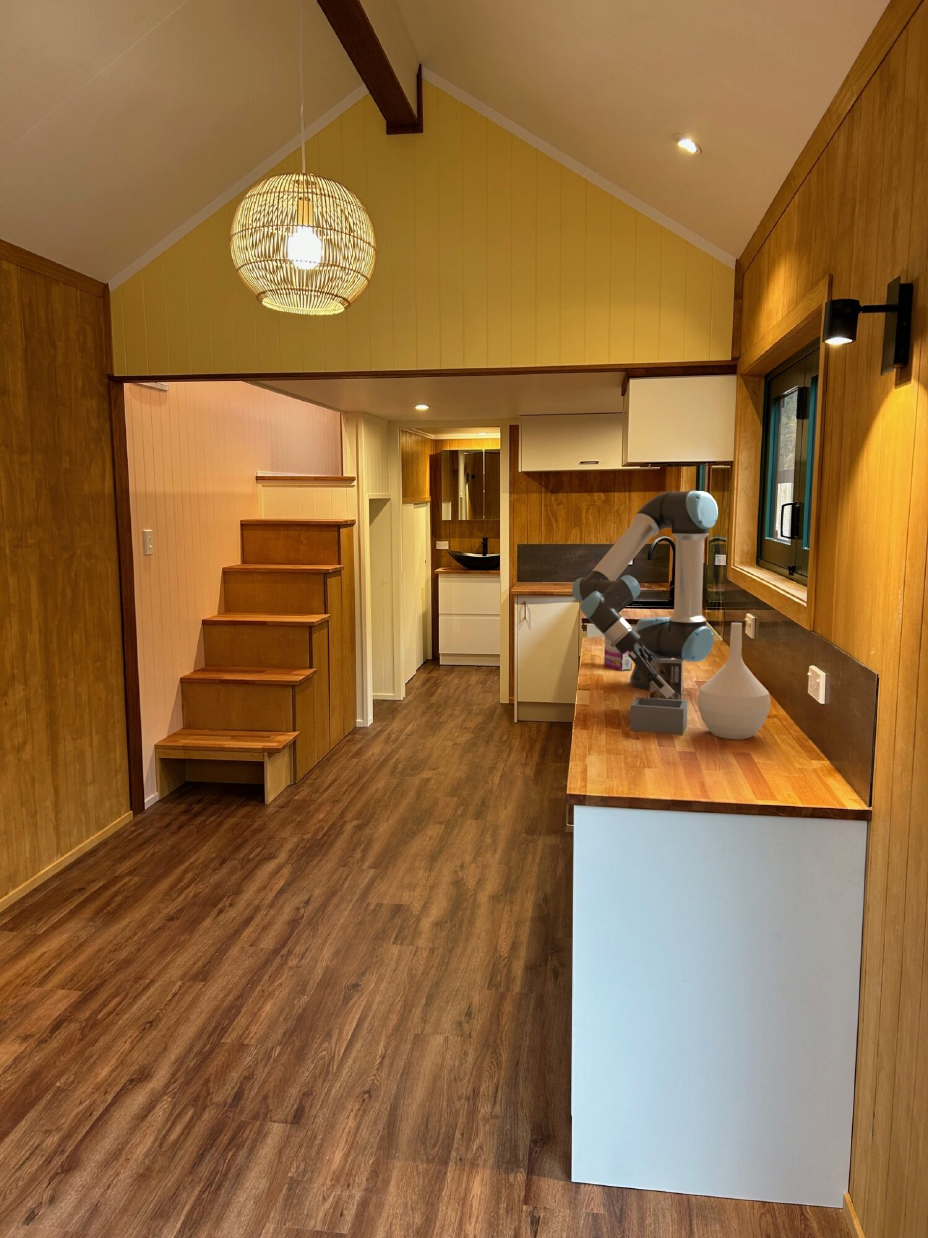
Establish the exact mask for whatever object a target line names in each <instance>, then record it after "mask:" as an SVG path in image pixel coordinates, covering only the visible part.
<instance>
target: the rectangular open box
mask: <svg viewBox="0 0 928 1238" xmlns="http://www.w3.org/2000/svg"><path fill="white" fill-rule="evenodd" d="M629 717H630V718H629V730H630V731H632V732H643V733H653V734H654V733H655V734H664V735H677V736H678V735H679V736H684V733H685V730H686V728H687V726H688V700H686V699H685V700H684V699H683V700H674V699H660V698H650V697H645V696H643V697H642V696H636V697H635V699H633V701H632V702H631V704H630V715H629Z"/></svg>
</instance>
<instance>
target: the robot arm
mask: <svg viewBox="0 0 928 1238" xmlns="http://www.w3.org/2000/svg"><path fill="white" fill-rule="evenodd" d="M718 509H719V508H718V505H717V502H716V500H715V499H714V498H713V496H712V495H711V494H709V492H706V491H701V490H700V491H699V490H691V491H689V490H687V491H686V490H683V491H665V492H662V493H659V494H658V495H656V496H654V497H653V498H651V499H650V500H649V501H647V502H646V503H645V504H644V505H642V507H640V509H639V510H638V511H637V512H636V513H635V515H633V518H632V522H631V524H630V525H629V527H627V528H626V530H625V531H624V533H622V535H621V536H620V537H619V538H618V539H617V541H616V542H615V543H614V544H613V546H612V547H611V548H610V549H609V550H608V552H607V553H606V554H605V555H604V557H602V559H600V561H599V563H597V565H596V566H595V567H594V568H593V569H592V570H591V571H590V573H589V574H588V575H587V576H586V577H579V578H577V579H576V580H575V581H574V582H573V584H572V586H571V593H572V596H573V598H574V599H575V600H576V601H579V602H581V603H580V605H579V609H580V610H581V613H583V615H585V617H586V619H587V620H589V621H590V622H591V623H592V624H593V625H594V627H596V629H597V630H599V632H600V633H601V634H603V636H604V640H605V639H606V640H609V641H610V642H611V643H612V644H613V643H615V644H616V645H615V647H616V649H617V650H618V651H619V652H620V653H621V654H624V653H626V652H627V651H629V654H628V656H629V657H630V658H631V659H632V662H633V664H634V667H633V670H632V673H631V675H630V678H629V679H630V686H632V687H634V688H638V689H644V690H650V682H652V683H653V684H654V685H655V686H656V687H657V688H658V689H659V690H660V691H661V693H662V694H663V695H664V696H665V697H666V698H667V699H668V698H669V697H670V696H671V695H672V694H673V693H675V692H674V691H673V690H672V689H671V687H670V686H669V685H668V684H667V683H666V682H665V681H664V680H663V679H662V678H661V677H660V676H659V675H658V676H657V674H656V672H655V671H654V669H653V668H652V666H651V665H650V662H651V660H652V659H653V658H664V659H683V662H684V661H685V662H688V663H689V662H693V663H698V662H703V661H704V660H705V659H706V658H707V657H708V656H709V654H710V653H711V651H712V649H713V647H714V640H715V637H714V633H713V631H712V629H711V628H709V627H708V626H707V618H706V617H705V616H704V615H703V611H702V610H703V585H704V581H703V580H704V579H703V578H704V548H705V547H704V546H705V545H704V544H705V539H706V538H707V537H708V536H709V535H710V529H711V528H713V527H714V526H715V524H716V522H717V520H718V516H719V511H718ZM665 529H671V535H672V537H673V538H674V539H675V563H674V565H675V566H674V567H675V568H674V569H675V570H674V571H675V572H674V573H675V574H674V575H675V576H674V601H673V602H674V603H673V604H674V608H673V610H674V611H673V614H672V615H671V616H662V617H661V616H660V617H649V618H647V617H646V618H640V619H639V620H638V621H637V622H636V630H635V629H631V626H632V625H631V624H629V622H628V621H627V620H626V619H625V618H624V617H623V616H622V614H620V612H621V611H622V610H624V609H625V608H626V607H628V606H629V605H630V604H631V603H633V602H634V601H635V599H636V598H637V597H638V596H639V595H640V594H641V586H640V584H639V582H638V580H637V579H636V578H635V577H633V576H631V575H628V574H626V575H624V576H621V574H622V573H623V572H624V571H625V569H626V568H627V567H628V566H629V564H630V563H631V562H632V561H633V559H634V558H636V556H637V555H638V553H639V552H640V551H641V550H642V548H644V547H645V545H646V544H647V543H648V541H649V540H650V539H651V538H652V537H656V536H657V535H658V534H659V533H660V532H661V531H663V530H665ZM620 576H621V577H620ZM605 636H606V637H605Z"/></svg>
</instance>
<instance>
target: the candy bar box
mask: <svg viewBox="0 0 928 1238" xmlns="http://www.w3.org/2000/svg"><path fill="white" fill-rule="evenodd" d="M633 628H634V626H632V625H631V629H633ZM633 630H634V629H633ZM605 637H606V636H605V635H604V655H603V656H604V661H603V664H604V665H603V667H605V666H606V668H609V667H610V668H609V669H612V668H614V669H613V670H617V671H620V670H621V672H624V670H626V671H631V670H632V667H633V665H632V664H633V663H632V662H633V661H632V659H631V658H630V657H629V656H628V654H629V651H627V652H626V653H624V654H621V653H620V652H619V651H618V650H617V649H616V647H615V645H616V644H615V643H613V644H612V643H611V642H610V641H609V640H606V639H605ZM632 671H633V670H632Z"/></svg>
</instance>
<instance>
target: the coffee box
mask: <svg viewBox="0 0 928 1238" xmlns="http://www.w3.org/2000/svg"><path fill="white" fill-rule="evenodd" d="M650 665H651V666H652V668H653V669H654V671H655V672H656V674H657V676H658V675H659V676H660V677H661V678H662V679H663V680H664V681H665V682H666V683H667V684H668V685H669V686H670V687H671V689H672V690H673V691H674V692H675V693H673V694H672V695H671V696H670V697H669V698H668V699H674V700H684V699H683V697H684V696H683V695H684V690H683V689H684V687H683V686H684V660H683V659H674V658H671V659H664V658H653V659H652V660H651V662H650ZM649 698H660V699H667V698H666V697H665V696H664V695H663V694H662V693H661V691H660V690H659V689H658V688H657V687H656V686H655V685H654V684H653V683H652V682H650V689H649Z"/></svg>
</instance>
